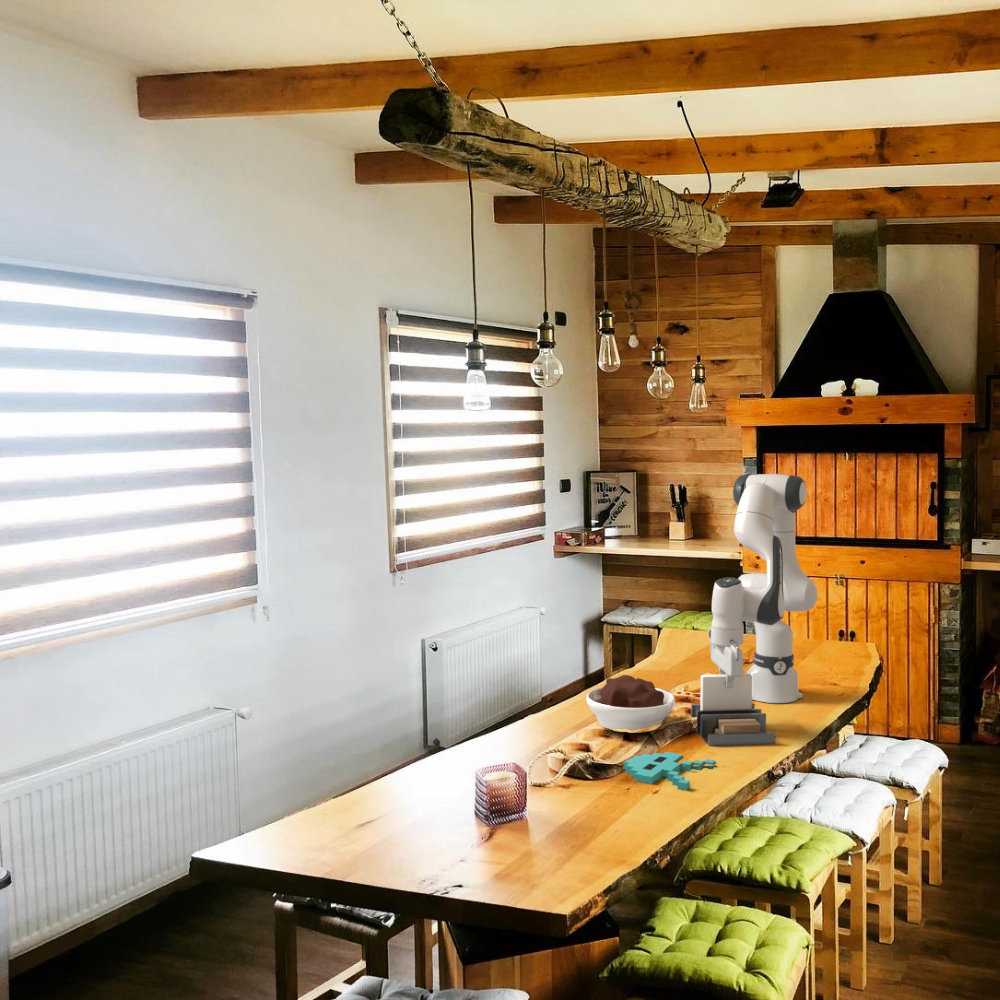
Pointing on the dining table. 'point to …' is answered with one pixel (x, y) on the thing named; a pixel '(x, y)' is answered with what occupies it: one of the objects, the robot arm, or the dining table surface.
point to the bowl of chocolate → (629, 703)
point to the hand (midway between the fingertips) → (726, 685)
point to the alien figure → (662, 768)
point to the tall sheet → (725, 693)
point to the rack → (709, 723)
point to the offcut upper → (739, 726)
